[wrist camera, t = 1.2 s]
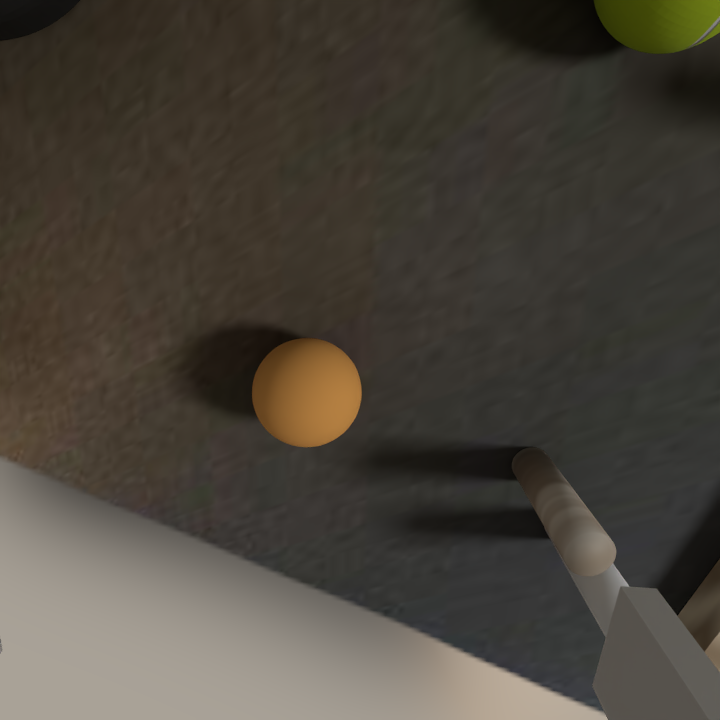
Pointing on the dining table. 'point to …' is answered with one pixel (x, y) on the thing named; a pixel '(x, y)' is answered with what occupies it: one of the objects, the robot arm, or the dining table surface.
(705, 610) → the back wall
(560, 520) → the pin
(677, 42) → the tennis ball
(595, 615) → the pin
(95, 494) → the dining table surface
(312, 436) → the ball
